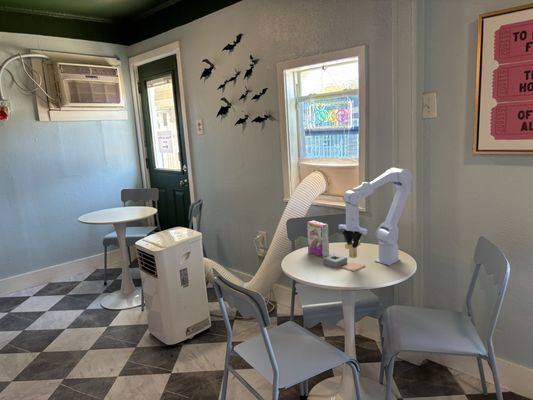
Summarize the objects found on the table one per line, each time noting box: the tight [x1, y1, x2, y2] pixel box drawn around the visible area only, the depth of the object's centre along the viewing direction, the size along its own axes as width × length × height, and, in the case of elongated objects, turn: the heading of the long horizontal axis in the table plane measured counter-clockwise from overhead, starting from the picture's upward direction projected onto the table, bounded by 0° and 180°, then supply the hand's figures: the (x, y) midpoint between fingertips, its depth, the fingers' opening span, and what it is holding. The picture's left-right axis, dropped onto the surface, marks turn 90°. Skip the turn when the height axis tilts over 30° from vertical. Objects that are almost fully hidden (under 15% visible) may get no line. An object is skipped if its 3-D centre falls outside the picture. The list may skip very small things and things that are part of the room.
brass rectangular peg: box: [344, 240, 361, 259], centre depth 176 cm, size 8×2×7 cm, turn 130°
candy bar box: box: [306, 220, 330, 258], centre depth 196 cm, size 11×5×16 cm, turn 34°
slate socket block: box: [322, 253, 348, 269], centre depth 183 cm, size 8×8×3 cm
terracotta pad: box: [341, 261, 366, 273], centre depth 177 cm, size 8×7×1 cm
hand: (352, 246), depth 176 cm, fingers closed on brass rectangular peg, 2 cm apart
